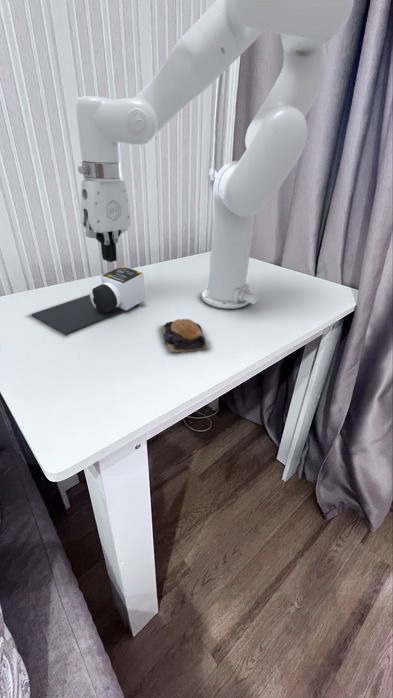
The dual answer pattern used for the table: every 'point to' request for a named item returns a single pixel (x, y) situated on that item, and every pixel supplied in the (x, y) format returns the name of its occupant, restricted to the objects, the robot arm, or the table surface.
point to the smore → (183, 336)
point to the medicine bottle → (119, 290)
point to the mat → (74, 315)
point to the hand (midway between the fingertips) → (109, 260)
